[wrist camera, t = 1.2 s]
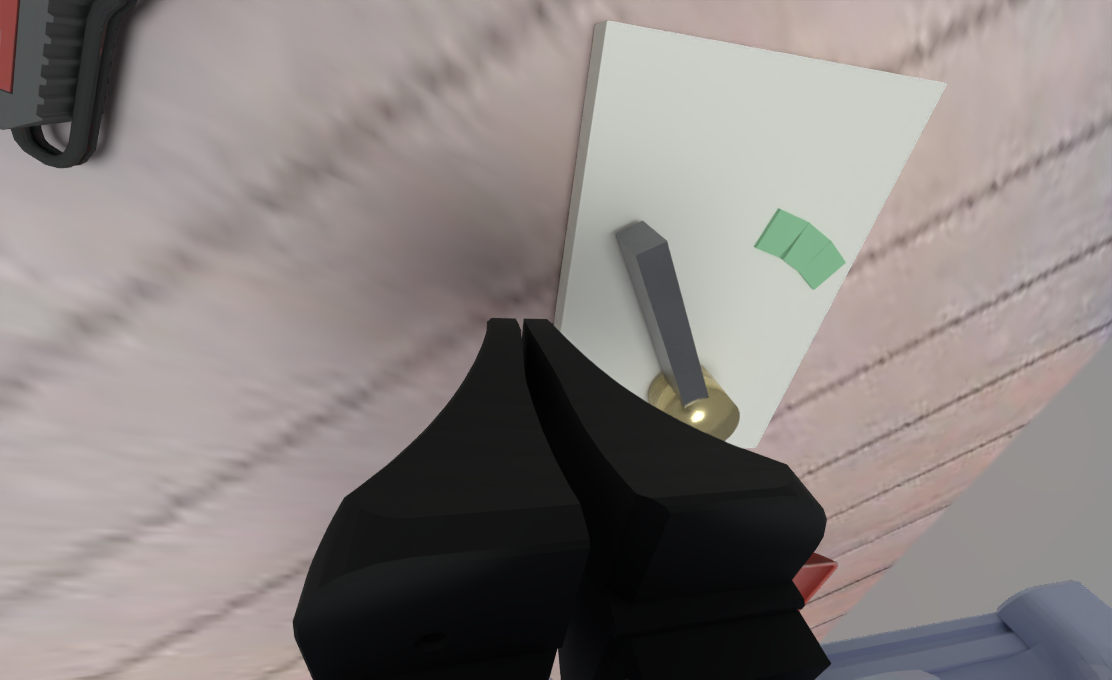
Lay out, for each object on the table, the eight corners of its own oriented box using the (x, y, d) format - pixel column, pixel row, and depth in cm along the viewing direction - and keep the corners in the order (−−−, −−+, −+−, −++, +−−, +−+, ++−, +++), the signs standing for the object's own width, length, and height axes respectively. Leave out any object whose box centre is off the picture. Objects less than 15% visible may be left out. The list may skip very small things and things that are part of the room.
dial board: (743, 430, 28) (757, 449, 26) (537, 440, 25) (541, 462, 23) (912, 82, 17) (952, 83, 16) (594, 24, 14) (609, 19, 13)
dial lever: (717, 399, 23) (744, 434, 21) (657, 426, 23) (678, 463, 21) (668, 205, 16) (700, 226, 14) (586, 244, 17) (604, 271, 14)
